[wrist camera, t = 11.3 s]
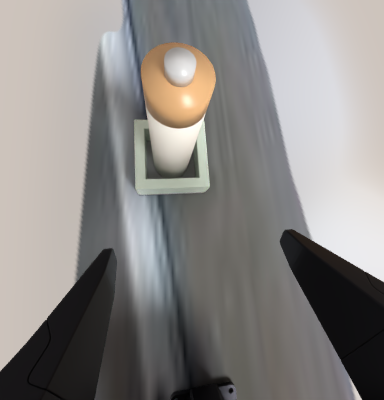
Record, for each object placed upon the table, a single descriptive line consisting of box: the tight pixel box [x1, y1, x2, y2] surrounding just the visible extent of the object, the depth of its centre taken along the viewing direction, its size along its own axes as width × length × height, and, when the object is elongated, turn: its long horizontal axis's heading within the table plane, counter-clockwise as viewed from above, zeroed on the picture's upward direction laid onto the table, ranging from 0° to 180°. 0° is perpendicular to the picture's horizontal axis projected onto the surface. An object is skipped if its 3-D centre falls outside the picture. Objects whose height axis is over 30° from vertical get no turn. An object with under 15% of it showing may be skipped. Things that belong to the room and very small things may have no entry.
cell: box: [141, 43, 216, 179], centre depth 16 cm, size 4×4×14 cm
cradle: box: [134, 120, 210, 195], centre depth 22 cm, size 8×8×3 cm
